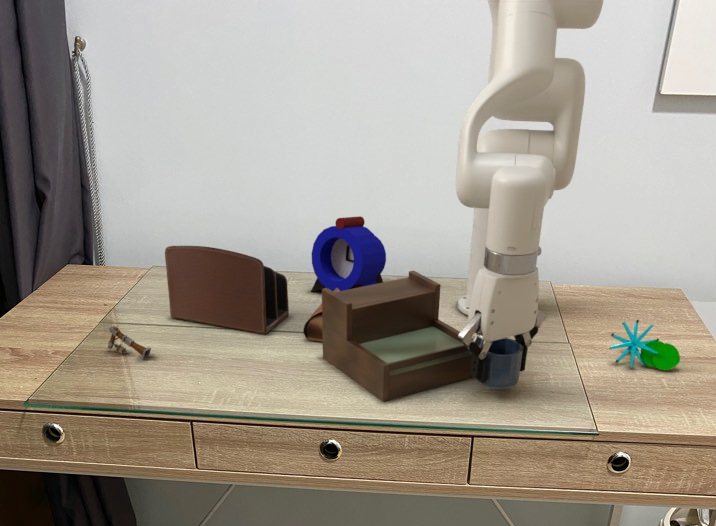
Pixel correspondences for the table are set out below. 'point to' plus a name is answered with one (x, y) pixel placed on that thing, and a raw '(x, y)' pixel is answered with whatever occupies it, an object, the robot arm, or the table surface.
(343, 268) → the alarm clock
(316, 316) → the sunglasses case
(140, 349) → the brown branched rod
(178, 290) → the letter holder
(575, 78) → the robot arm
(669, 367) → the stick construction toy
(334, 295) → the brown wooden drawer box
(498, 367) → the cup
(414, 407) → the table surface
